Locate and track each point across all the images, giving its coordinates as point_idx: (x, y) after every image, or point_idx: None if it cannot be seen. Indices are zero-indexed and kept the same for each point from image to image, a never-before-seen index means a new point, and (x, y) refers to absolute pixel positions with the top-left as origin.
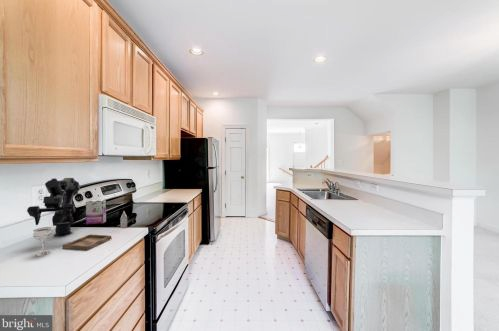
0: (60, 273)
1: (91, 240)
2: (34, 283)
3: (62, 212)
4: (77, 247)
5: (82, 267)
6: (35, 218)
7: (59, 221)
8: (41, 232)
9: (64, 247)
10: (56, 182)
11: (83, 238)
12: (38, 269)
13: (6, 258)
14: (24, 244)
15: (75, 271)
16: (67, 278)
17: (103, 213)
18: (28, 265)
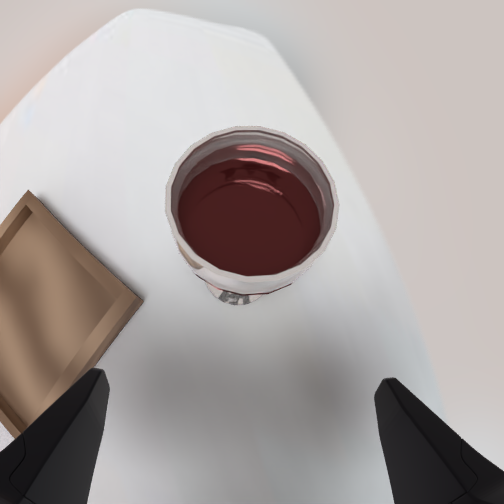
0: (139, 42)
1: (13, 356)
2: (195, 21)
3: (17, 502)
4: (64, 228)
5: (84, 57)
6: (453, 439)
7: (98, 373)
8: (244, 143)
9: (130, 290)
10: None
11: (46, 401)
12: (205, 82)
13: (397, 284)
14: (391, 494)
15: (104, 42)
16: (126, 21)
17: None
18: None
